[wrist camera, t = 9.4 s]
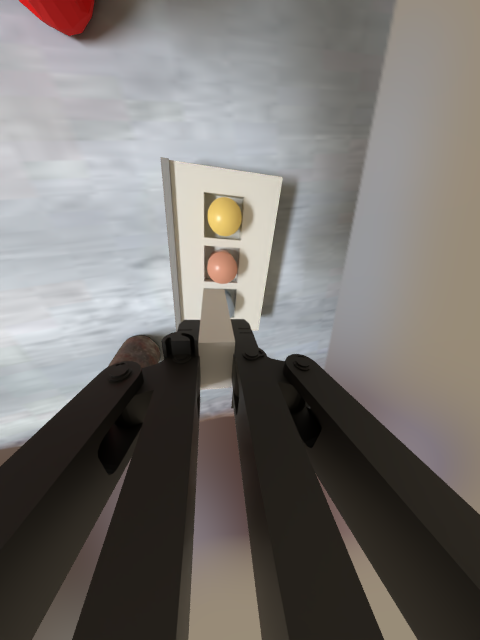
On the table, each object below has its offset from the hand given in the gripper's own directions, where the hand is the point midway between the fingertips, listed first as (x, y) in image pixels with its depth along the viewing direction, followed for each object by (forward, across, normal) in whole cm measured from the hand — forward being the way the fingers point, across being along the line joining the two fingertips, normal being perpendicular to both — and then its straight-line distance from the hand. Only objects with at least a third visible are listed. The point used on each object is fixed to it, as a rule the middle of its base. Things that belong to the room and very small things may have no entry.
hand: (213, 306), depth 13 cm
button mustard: (+16, +1, +6) cm, 17 cm away
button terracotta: (+16, +1, 0) cm, 16 cm away
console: (+19, +1, 0) cm, 19 cm away
